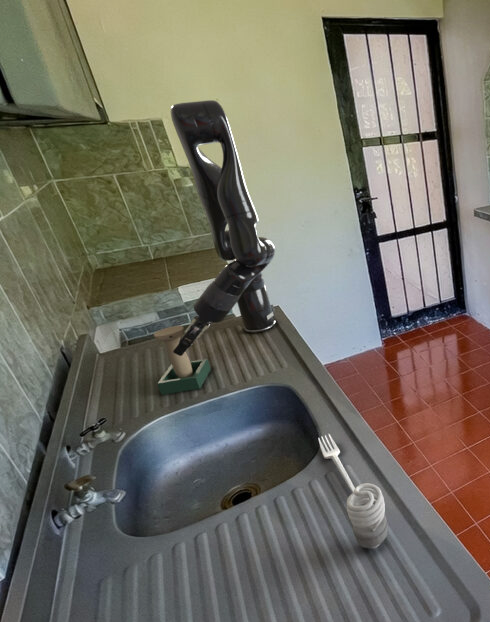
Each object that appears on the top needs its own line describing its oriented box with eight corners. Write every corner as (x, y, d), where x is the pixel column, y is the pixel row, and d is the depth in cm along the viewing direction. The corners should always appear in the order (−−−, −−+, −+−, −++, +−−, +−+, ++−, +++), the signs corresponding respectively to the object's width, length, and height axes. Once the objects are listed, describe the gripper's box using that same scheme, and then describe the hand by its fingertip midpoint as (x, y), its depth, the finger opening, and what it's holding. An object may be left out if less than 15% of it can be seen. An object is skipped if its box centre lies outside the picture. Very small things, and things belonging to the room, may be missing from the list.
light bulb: (398, 545, 75) (388, 491, 70) (368, 567, 71) (355, 512, 66) (379, 524, 79) (369, 472, 73) (350, 545, 75) (337, 492, 70)
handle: (202, 379, 123) (184, 330, 116) (174, 388, 119) (154, 338, 113) (199, 372, 126) (181, 323, 120) (172, 380, 123) (152, 331, 116)
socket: (175, 374, 126) (171, 364, 125) (211, 369, 128) (207, 358, 127) (161, 394, 117) (156, 383, 116) (199, 388, 119) (195, 377, 118)
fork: (350, 504, 83) (348, 497, 82) (317, 445, 98) (315, 438, 97) (367, 496, 84) (365, 488, 84) (332, 439, 99) (331, 432, 98)
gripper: (212, 282, 121) (178, 326, 123) (194, 302, 108) (157, 351, 111) (239, 297, 124) (205, 340, 127) (224, 319, 112) (188, 366, 114)
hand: (183, 345), depth 119 cm, fingers open, 8 cm apart
